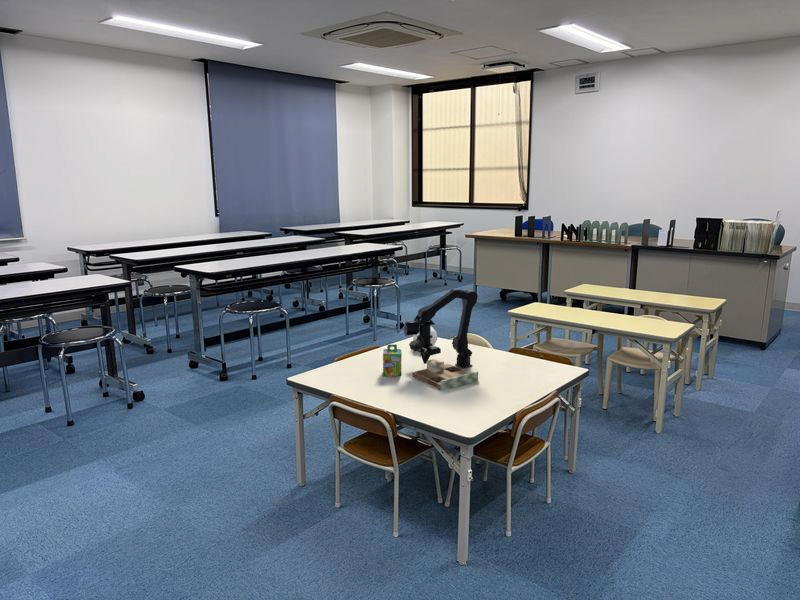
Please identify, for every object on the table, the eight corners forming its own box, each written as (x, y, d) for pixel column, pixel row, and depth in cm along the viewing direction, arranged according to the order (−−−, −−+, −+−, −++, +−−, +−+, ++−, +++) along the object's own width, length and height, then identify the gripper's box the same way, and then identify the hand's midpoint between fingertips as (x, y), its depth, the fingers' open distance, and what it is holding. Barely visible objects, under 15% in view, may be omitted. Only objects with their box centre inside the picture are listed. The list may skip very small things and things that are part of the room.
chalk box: (383, 377, 280) (382, 348, 277) (383, 371, 289) (382, 342, 286) (401, 376, 280) (401, 347, 277) (401, 370, 289) (401, 342, 286)
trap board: (447, 368, 291) (447, 359, 290) (478, 380, 273) (478, 371, 272) (412, 377, 279) (412, 368, 278) (442, 390, 261) (442, 381, 260)
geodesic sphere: (424, 332, 338) (416, 316, 328) (445, 335, 330) (437, 319, 320) (413, 352, 330) (404, 336, 321) (434, 356, 322) (426, 340, 313)
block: (436, 367, 286) (436, 358, 285) (444, 370, 281) (444, 361, 280) (426, 369, 282) (426, 360, 281) (434, 372, 277) (434, 363, 276)
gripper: (400, 332, 288) (401, 362, 291) (423, 340, 273) (423, 371, 276) (418, 328, 294) (419, 358, 297) (441, 336, 279) (441, 367, 282)
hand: (425, 363), depth 288 cm, fingers closed
